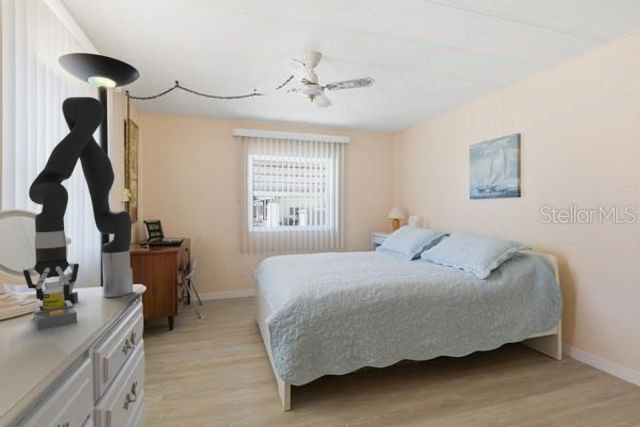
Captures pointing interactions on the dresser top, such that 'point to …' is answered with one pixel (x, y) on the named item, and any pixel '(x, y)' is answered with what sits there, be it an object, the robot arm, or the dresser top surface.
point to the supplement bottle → (53, 295)
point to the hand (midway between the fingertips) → (53, 297)
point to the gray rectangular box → (54, 316)
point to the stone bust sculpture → (72, 295)
